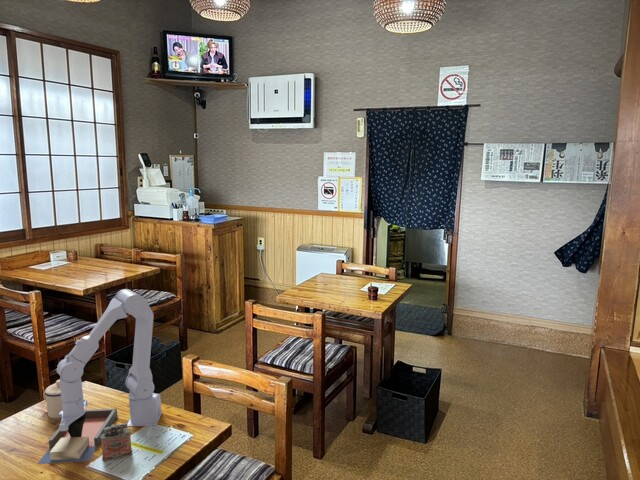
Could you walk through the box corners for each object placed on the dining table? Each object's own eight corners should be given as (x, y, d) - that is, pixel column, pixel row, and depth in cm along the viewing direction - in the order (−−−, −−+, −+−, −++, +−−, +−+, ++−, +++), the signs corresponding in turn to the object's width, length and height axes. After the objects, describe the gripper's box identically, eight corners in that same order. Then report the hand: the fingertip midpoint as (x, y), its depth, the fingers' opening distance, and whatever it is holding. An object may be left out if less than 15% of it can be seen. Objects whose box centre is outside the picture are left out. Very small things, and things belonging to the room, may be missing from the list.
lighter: (102, 463, 135) (99, 431, 133) (102, 457, 138) (99, 425, 136) (132, 456, 138) (130, 425, 136) (132, 450, 141) (129, 419, 139)
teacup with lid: (83, 408, 165) (80, 376, 163) (61, 421, 156) (58, 388, 154) (56, 402, 169) (53, 371, 167) (34, 415, 160) (30, 383, 158)
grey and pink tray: (117, 416, 159) (116, 408, 159) (98, 447, 142) (97, 438, 142) (74, 418, 158) (73, 410, 158) (49, 449, 141) (48, 440, 141)
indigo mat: (98, 447, 142) (97, 446, 142) (88, 462, 135) (88, 461, 135) (49, 449, 141) (49, 448, 141) (37, 464, 134) (37, 463, 134)
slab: (89, 444, 143) (88, 436, 143) (79, 458, 136) (78, 450, 136) (61, 445, 143) (60, 437, 142) (50, 460, 136) (49, 452, 135)
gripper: (69, 386, 148) (73, 426, 151) (46, 411, 134) (51, 455, 136) (92, 386, 149) (96, 425, 151) (72, 410, 135) (76, 453, 137)
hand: (76, 439), depth 144 cm, fingers closed
